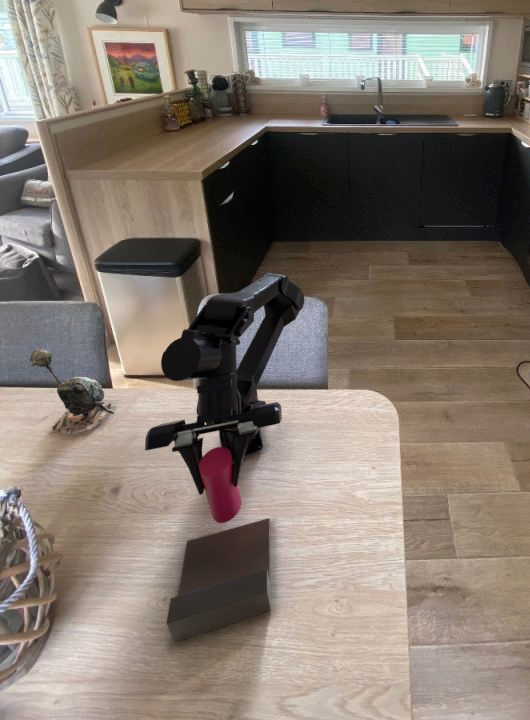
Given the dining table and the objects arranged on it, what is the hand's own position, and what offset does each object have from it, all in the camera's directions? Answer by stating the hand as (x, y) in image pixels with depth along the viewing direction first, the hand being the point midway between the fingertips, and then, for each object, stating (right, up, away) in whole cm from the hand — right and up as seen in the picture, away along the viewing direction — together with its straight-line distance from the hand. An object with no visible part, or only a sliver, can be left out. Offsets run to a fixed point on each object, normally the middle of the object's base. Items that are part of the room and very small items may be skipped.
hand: (219, 489), depth 57 cm
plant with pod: (-36, -2, +22) cm, 42 cm away
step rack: (+2, -12, -1) cm, 12 cm away
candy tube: (0, -6, +4) cm, 7 cm away
